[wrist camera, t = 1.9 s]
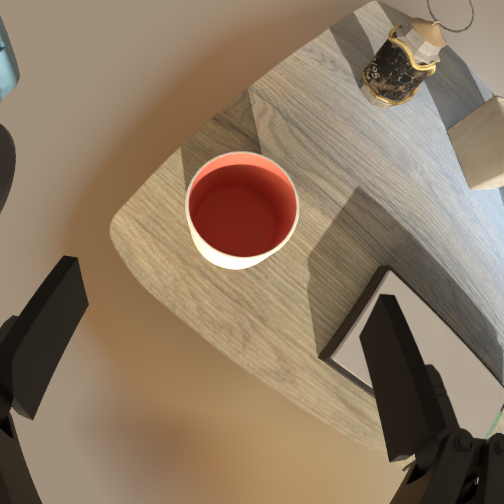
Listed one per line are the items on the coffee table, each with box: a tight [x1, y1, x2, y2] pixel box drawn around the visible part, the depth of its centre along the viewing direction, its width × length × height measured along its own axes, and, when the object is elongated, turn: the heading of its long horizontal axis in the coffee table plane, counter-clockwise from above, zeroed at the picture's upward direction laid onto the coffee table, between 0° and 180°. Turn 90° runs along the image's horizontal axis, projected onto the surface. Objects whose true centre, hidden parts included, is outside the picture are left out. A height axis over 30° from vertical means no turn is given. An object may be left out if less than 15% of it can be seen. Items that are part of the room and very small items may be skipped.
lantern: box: [360, 0, 475, 109], centre depth 31 cm, size 9×8×25 cm
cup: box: [185, 151, 299, 269], centre depth 32 cm, size 10×10×10 cm
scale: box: [318, 265, 504, 439], centre depth 36 cm, size 39×14×3 cm, turn 52°
